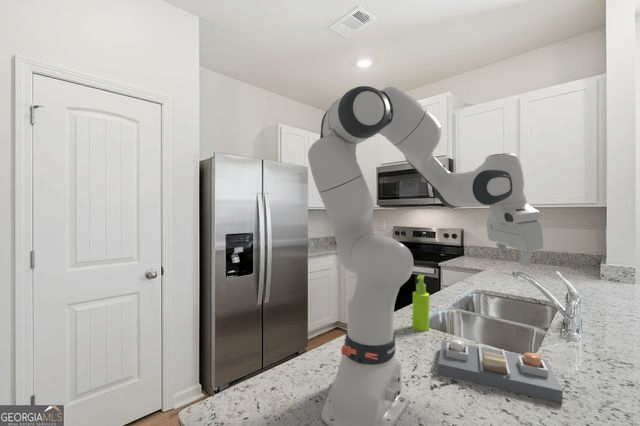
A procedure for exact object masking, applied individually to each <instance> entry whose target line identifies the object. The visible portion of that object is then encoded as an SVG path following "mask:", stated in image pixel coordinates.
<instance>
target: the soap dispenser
mask: <svg viewBox="0 0 640 426" xmlns="http://www.w3.org/2000/svg"><path fill="white" fill-rule="evenodd" d="M424 279H425V274H418V275H417V277H416V280H418V282H417V283H416V287H415V289H416V291H413V292H412V323H411V324H412V329H414V330H415V331H418V332H419V331H420V332H427V331H429V330H430V293H428V292H427V284H426V283H424V282H425V281H424Z"/></svg>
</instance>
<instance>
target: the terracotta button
mask: <svg viewBox="0 0 640 426" xmlns="http://www.w3.org/2000/svg"><path fill="white" fill-rule="evenodd" d="M523 355H524V363H525V364H526V365H528V366H533V367H538V368H540V367H541V359H542V357H541V356H540V355H538V354H536V353H533V352H524V354H523Z"/></svg>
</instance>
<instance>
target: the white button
mask: <svg viewBox="0 0 640 426" xmlns="http://www.w3.org/2000/svg"><path fill="white" fill-rule="evenodd" d="M450 342H451V346H450V349H451V350H452V351H457V352H464V344H465V341H463V340H461V339H457V338H456V339H454V338H453V339H451V340H450Z"/></svg>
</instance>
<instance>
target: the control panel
mask: <svg viewBox="0 0 640 426" xmlns="http://www.w3.org/2000/svg"><path fill="white" fill-rule="evenodd" d="M450 346H451V340H450V341H449V340H444V339H442V340H441V346H440V351H439V358H438V363H437V372H438V373H437V375H439V376H443V377H447V378H451V379H455V380H459V381H464V382H469V383H472V384H477V385H482V386H485V387H490V388H494V389H498V390H503V391H506V392H510V393H511V392H512V393H516V394H520V395H523V396H528V397H533V398H537V399H542V400H546V401H549V402H555V403H557V404H558V403H559V404H563V389H562V387H561V385H560V383H559V381H558V379H557V378H556V376H555V374H554V372H553V370H552V368H551V366H550V365H549V363H548V360H547V359H546V358H541V367H540V368H538V367H533V366H528V365H526V364H525V363H524V354H519V353H513V352H508V351H505V349H503V348H502V349H501V350H499V349H498V350H497V349H492V348H487V347H482V345H481V344H478V346H476V345H471V344H465V343H464V352H457V351H452V350H451V349H450ZM484 351H485V352H490V353H495V354H500V355H504V357H505V360H506V374H504V373H500V372H495V371H490V370H485V369H484V362H483V360H484Z"/></svg>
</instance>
